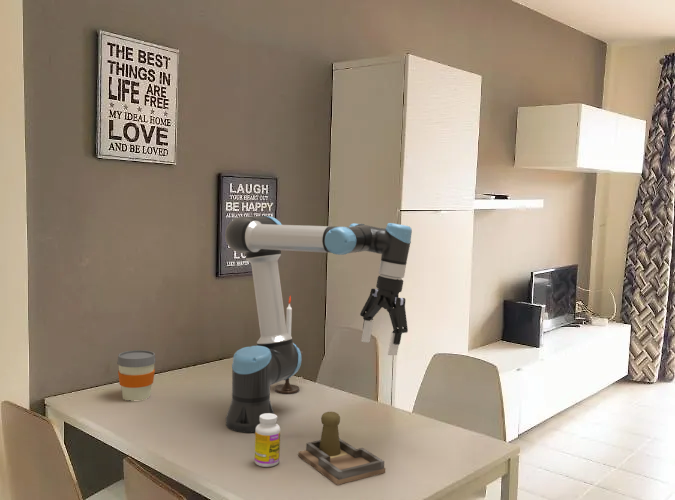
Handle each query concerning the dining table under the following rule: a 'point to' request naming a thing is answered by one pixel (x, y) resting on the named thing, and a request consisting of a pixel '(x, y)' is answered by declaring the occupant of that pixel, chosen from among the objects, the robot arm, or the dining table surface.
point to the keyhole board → (343, 462)
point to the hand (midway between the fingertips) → (378, 348)
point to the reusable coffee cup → (136, 373)
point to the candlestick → (288, 387)
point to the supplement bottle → (267, 441)
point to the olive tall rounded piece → (330, 434)
